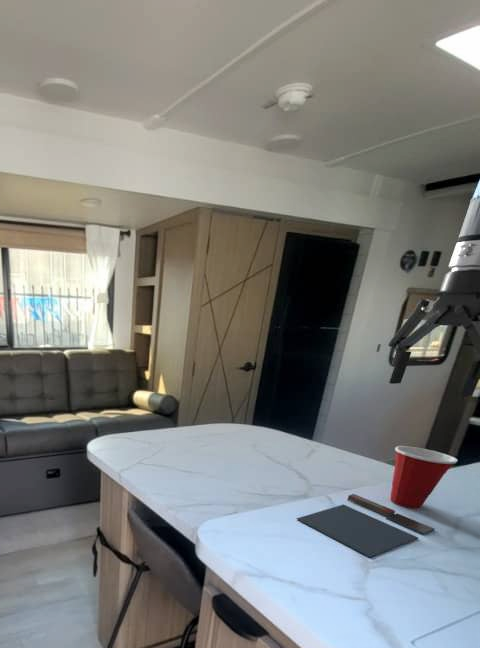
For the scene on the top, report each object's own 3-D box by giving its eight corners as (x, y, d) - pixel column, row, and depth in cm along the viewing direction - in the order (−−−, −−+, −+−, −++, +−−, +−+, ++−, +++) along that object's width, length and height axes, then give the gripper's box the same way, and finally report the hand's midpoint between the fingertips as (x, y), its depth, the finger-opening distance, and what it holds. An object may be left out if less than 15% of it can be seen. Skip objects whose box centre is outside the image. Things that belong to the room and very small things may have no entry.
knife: (344, 500, 90) (345, 496, 90) (355, 497, 92) (356, 492, 92) (422, 534, 78) (425, 529, 77) (433, 530, 79) (436, 525, 79)
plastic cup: (444, 506, 89) (467, 454, 84) (424, 518, 84) (447, 464, 78) (390, 488, 97) (408, 440, 92) (368, 498, 92) (386, 448, 86)
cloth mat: (343, 505, 88) (343, 504, 88) (417, 538, 76) (418, 537, 76) (296, 519, 82) (296, 518, 82) (369, 558, 70) (370, 556, 70)
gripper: (391, 272, 82) (358, 379, 91) (551, 264, 61) (488, 404, 71) (415, 274, 85) (381, 378, 94) (577, 267, 64) (513, 401, 73)
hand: (427, 389), depth 82 cm, fingers open, 13 cm apart
